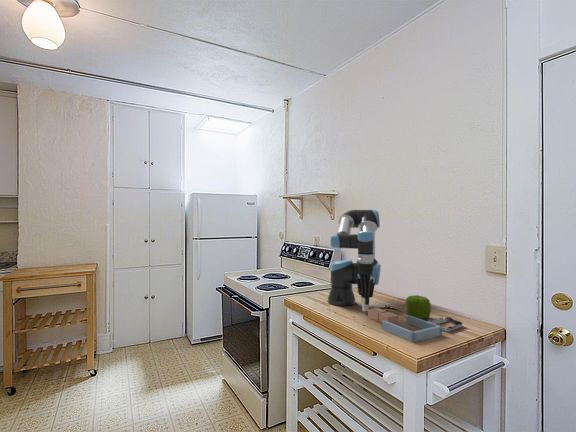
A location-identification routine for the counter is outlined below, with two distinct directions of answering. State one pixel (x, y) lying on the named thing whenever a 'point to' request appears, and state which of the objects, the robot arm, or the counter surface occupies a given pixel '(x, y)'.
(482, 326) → the counter surface
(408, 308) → the apple
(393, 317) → the terracotta tile
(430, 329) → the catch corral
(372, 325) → the counter surface
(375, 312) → the terracotta tile
